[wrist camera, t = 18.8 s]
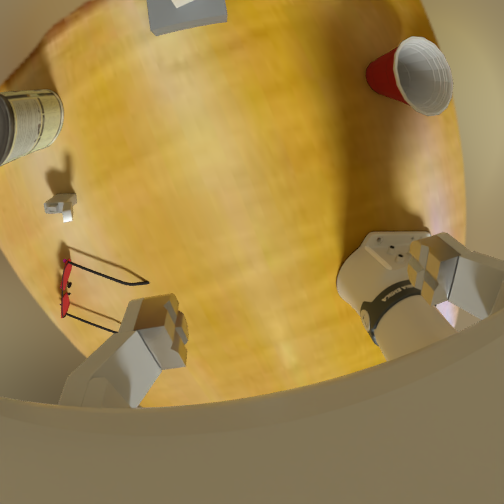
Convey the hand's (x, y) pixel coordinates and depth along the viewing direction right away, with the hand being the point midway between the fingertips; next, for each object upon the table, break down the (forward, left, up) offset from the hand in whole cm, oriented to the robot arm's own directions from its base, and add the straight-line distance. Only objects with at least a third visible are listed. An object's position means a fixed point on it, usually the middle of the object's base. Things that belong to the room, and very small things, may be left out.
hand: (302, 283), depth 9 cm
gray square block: (+3, -24, -35) cm, 42 cm away
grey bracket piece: (+28, +1, -34) cm, 44 cm away
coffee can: (+30, -14, -34) cm, 48 cm away
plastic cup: (-24, -8, -34) cm, 43 cm away
